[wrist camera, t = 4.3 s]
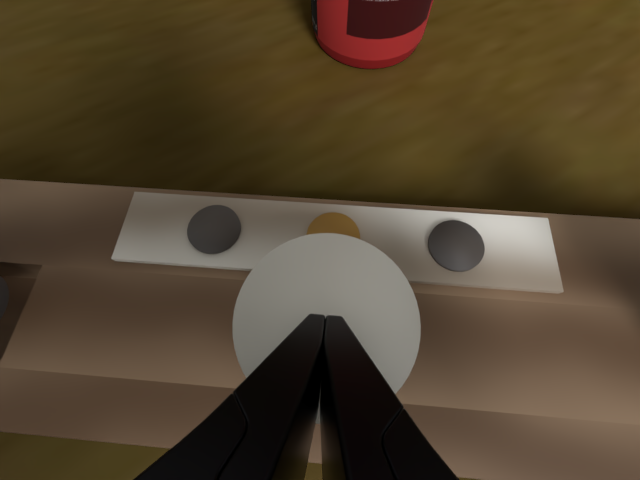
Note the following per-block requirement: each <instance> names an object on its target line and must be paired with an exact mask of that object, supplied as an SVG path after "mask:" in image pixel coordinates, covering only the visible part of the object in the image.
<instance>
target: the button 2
mask: <svg viewBox="0 0 640 480" xmlns="http://www.w3.org/2000/svg"><path fill="white" fill-rule="evenodd" d="M8 300H9V289H8V286H7V283H6V282H5V280H4V279H3V278H2V277H1V276H0V319H1V317H2V316H3V314H4V312H5V310H6V307H7V304H8Z"/></svg>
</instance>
